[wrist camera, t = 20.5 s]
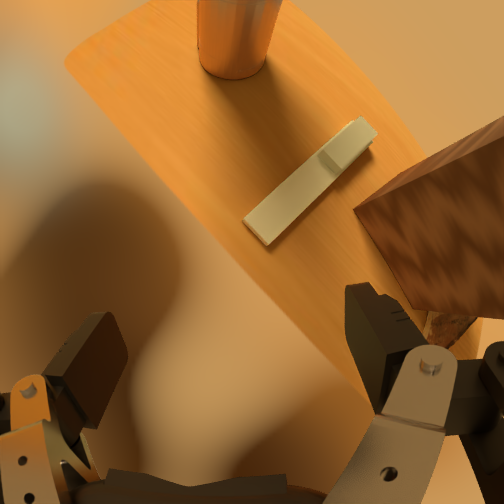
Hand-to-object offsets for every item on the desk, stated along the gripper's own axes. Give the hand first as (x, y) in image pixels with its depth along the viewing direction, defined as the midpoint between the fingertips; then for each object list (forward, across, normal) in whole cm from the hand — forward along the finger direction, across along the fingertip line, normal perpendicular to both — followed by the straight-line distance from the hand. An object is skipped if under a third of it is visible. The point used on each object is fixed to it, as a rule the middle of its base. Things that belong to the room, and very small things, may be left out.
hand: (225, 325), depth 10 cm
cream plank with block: (+30, -8, 0) cm, 31 cm away
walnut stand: (+28, -21, +9) cm, 36 cm away
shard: (+24, -26, +22) cm, 42 cm away
